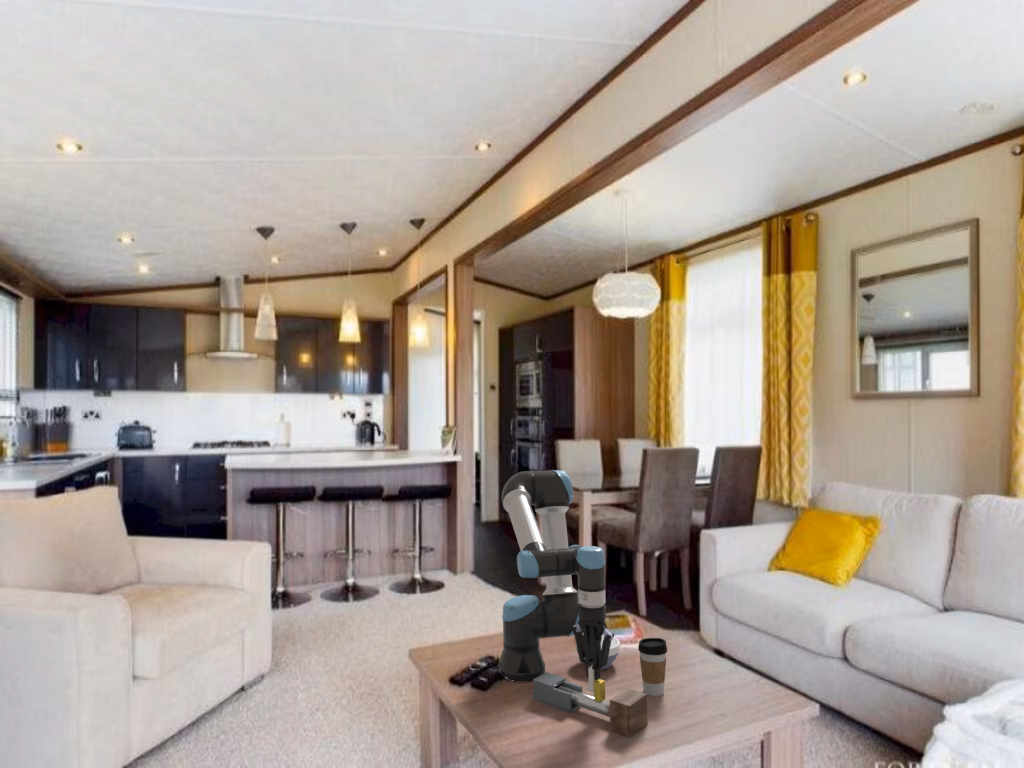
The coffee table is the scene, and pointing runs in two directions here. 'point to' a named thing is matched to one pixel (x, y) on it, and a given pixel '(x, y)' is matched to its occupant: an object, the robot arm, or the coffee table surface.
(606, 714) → the tube
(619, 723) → the socket
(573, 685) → the sleeve
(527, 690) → the coffee table surface
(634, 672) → the coffee table surface
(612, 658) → the bowl
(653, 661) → the coffee cup
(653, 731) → the coffee table surface
